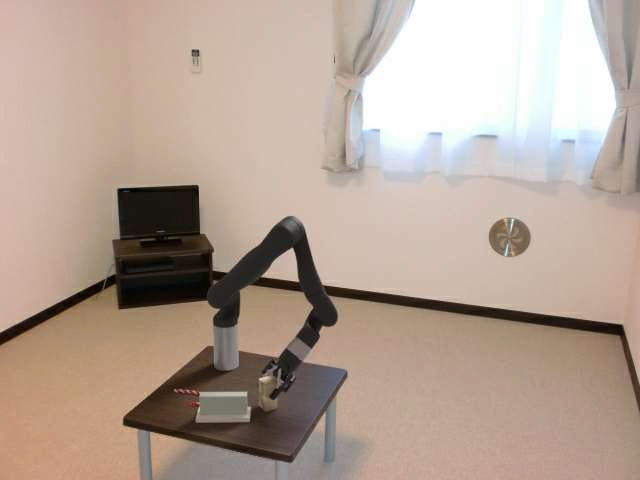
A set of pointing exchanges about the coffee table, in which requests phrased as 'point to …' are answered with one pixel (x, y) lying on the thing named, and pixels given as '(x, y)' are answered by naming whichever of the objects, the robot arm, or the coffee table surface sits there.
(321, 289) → the robot arm
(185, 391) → the candy cane
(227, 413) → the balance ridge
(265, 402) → the pine block
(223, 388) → the coffee table surface
